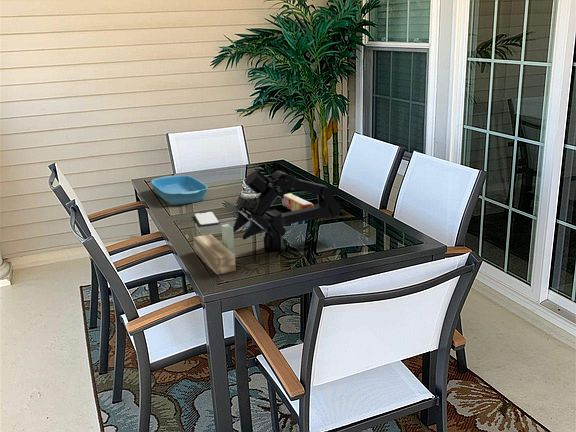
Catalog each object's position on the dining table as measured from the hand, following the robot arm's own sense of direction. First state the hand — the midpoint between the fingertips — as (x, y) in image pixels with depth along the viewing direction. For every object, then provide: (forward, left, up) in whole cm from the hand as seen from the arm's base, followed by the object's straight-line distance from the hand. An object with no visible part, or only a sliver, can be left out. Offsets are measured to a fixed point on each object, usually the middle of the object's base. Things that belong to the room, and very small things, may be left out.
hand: (237, 235), depth 207 cm
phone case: (+30, -35, -9) cm, 47 cm away
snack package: (-5, -56, -8) cm, 57 cm away
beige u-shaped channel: (+7, +7, -8) cm, 12 cm away
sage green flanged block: (+5, +5, -8) cm, 10 cm away
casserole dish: (+59, -66, -8) cm, 89 cm away
